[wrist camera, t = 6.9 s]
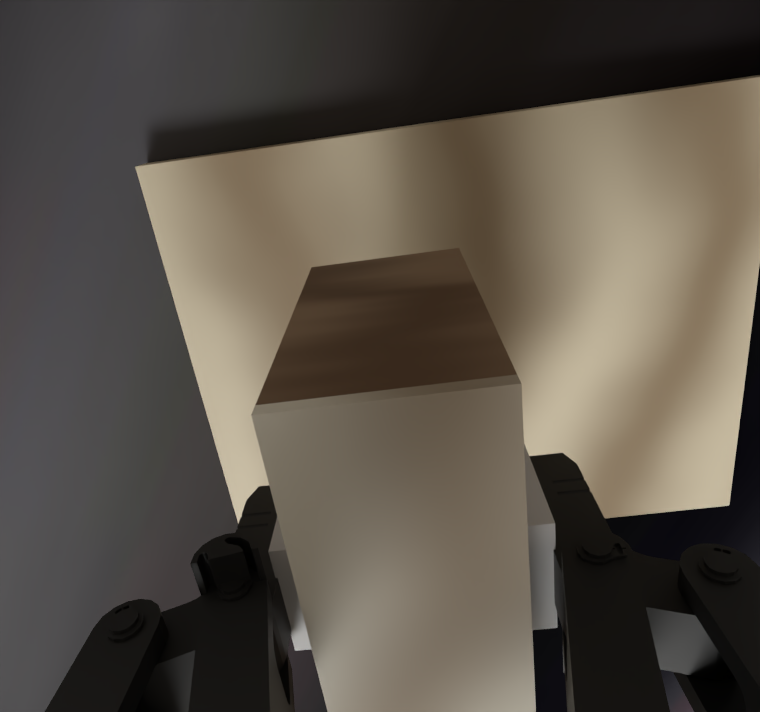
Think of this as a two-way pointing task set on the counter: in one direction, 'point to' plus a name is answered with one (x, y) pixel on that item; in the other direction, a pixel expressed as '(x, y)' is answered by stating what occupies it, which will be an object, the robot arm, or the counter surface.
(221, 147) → the counter surface
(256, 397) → the board
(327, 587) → the wooden block
